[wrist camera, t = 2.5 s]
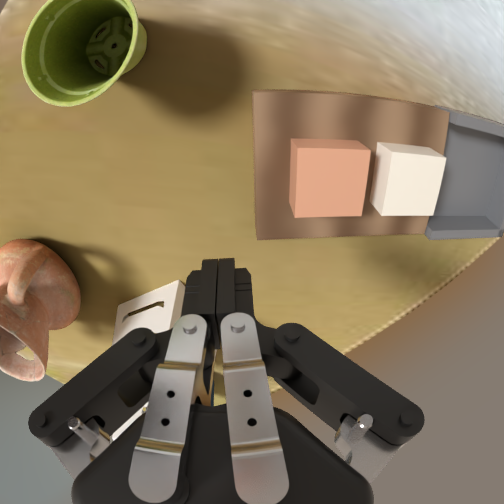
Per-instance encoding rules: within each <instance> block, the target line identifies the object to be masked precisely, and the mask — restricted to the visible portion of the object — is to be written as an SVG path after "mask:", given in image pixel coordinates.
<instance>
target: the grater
mask: <svg viewBox="0 0 504 504" xmlns="http://www.w3.org/2000/svg"><path fill="white" fill-rule="evenodd" d="M184 294H185V286H184V285H183V284H182V283H181V281H180V280H177V281H174V282H172V283H170V284H167V285H165V286H163V287H160V288H158V289H155V290H153V291H151V292H148V293H146V294H143V295H141V296H139V297H136V298H134V299H132V300H129V301H127V302H124V303H122V304H120V305H118V309H117V315H116V322H115V329H114V336H113V343H112V346H113V345H114V344H115V343H116V342H117V341H119V340H120V339H121V338H122V337H124V336H125V335H126V334H127V333H129V332H130V331H131V330H133V329H136V328H141V327H144V328H148V329H150V330H152V331H153V332H154V333H160V332H164V331H167V330H169V329H171V328H173V326H174V324H175V322H176V321H177V320H178V319H179V318H180V317H181V311H182V304H183V298H184ZM158 301H164V308H163V307H160V306H156V307H153V308H150V309H148V310H145V311H143V312H140V313H137V314H135V315H132V316H130V317H129V316H128V315H127V314H128V313H130V312H132V311H135V310H137V309H140V308H143V307H145V306H148V305H150V304H153V303H155V302H158ZM216 352H217V349H215V357H216ZM214 361H215V358H214ZM148 402H149V401H148ZM148 402H147V403H146V404H145V405H144V406H143V407H146V410H147V406H148ZM143 407H142V408H143ZM142 408H141V409H140V410H139V411H138V412H136V413H135V414H134V415H133V416H132V417H131V418H130V419H129V420H128V421H127V422H125V423H124V424H123V425H122V426H121V427H120V428H119V429H118V430H117V431H115V432H114V433H113V436H112V438H113V441H114V440H115V439H116V438H117V437H118V436H119V435H120V434H121V433H122V432H123V431H124V430H125V429H126V428H127V427H129V426H130V425H131V424H132V423H133V422H134V421H135V420H136V419H137V418H138V417H139V416H140V415H141V414H143V413H145V412H146V411H143V410H142Z"/></svg>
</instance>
